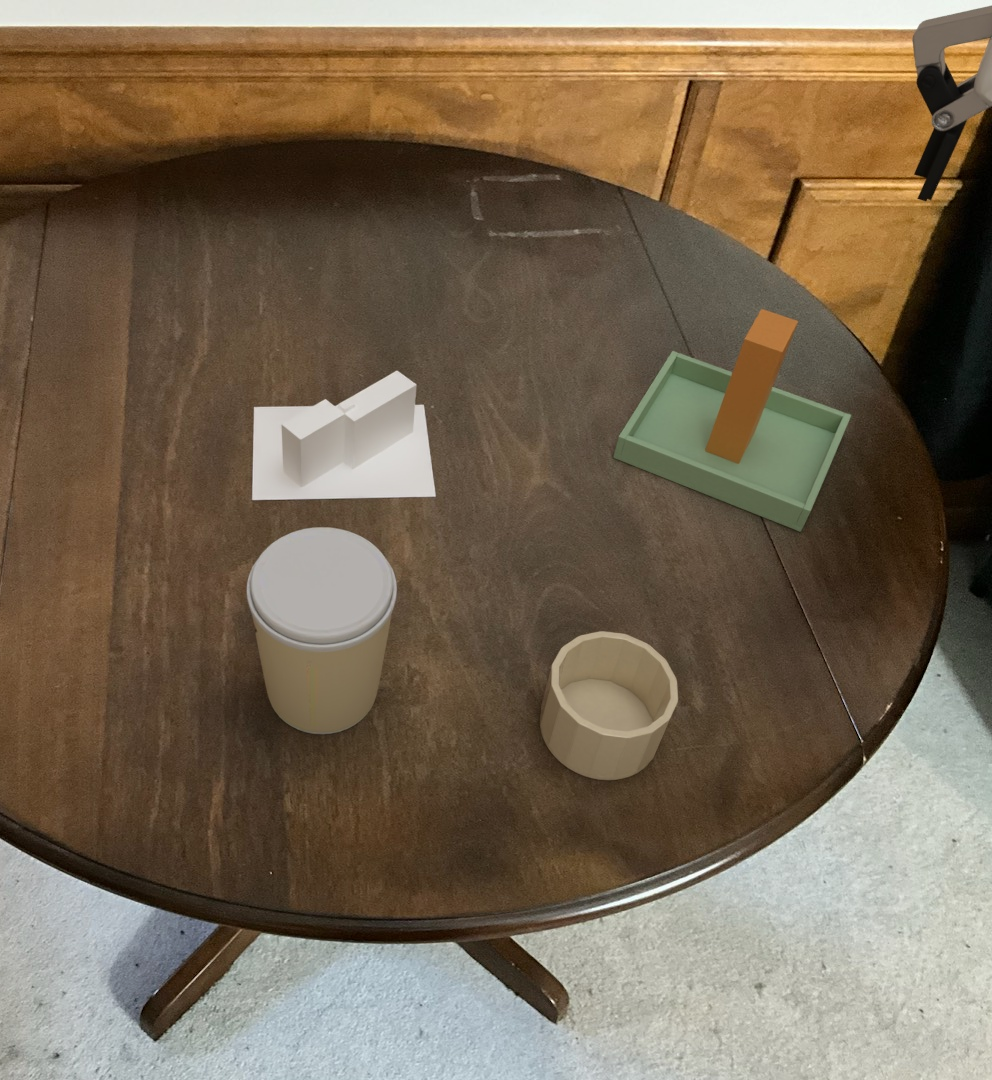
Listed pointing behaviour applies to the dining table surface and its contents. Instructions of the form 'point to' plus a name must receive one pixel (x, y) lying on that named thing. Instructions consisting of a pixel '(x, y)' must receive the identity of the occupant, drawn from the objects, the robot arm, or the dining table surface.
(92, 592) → the dining table surface
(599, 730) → the cup
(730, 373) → the tray
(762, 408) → the orange rectangular bar
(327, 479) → the napkin holder
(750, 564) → the dining table surface
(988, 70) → the robot arm
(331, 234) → the dining table surface
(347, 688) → the coffee cup
